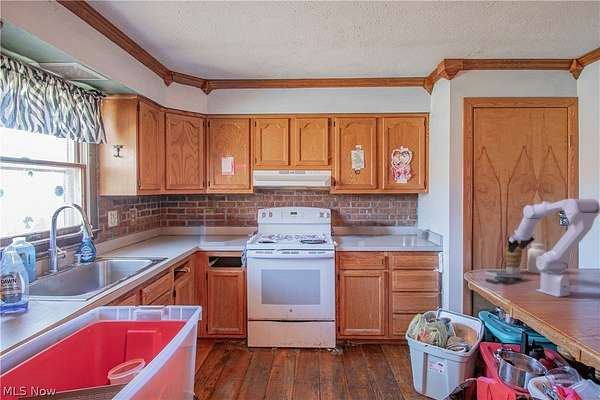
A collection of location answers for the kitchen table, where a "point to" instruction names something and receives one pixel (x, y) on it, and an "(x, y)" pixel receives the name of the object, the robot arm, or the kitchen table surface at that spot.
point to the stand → (503, 279)
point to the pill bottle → (534, 257)
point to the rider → (512, 270)
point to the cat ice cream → (513, 257)
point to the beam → (502, 273)
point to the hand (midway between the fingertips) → (515, 249)
